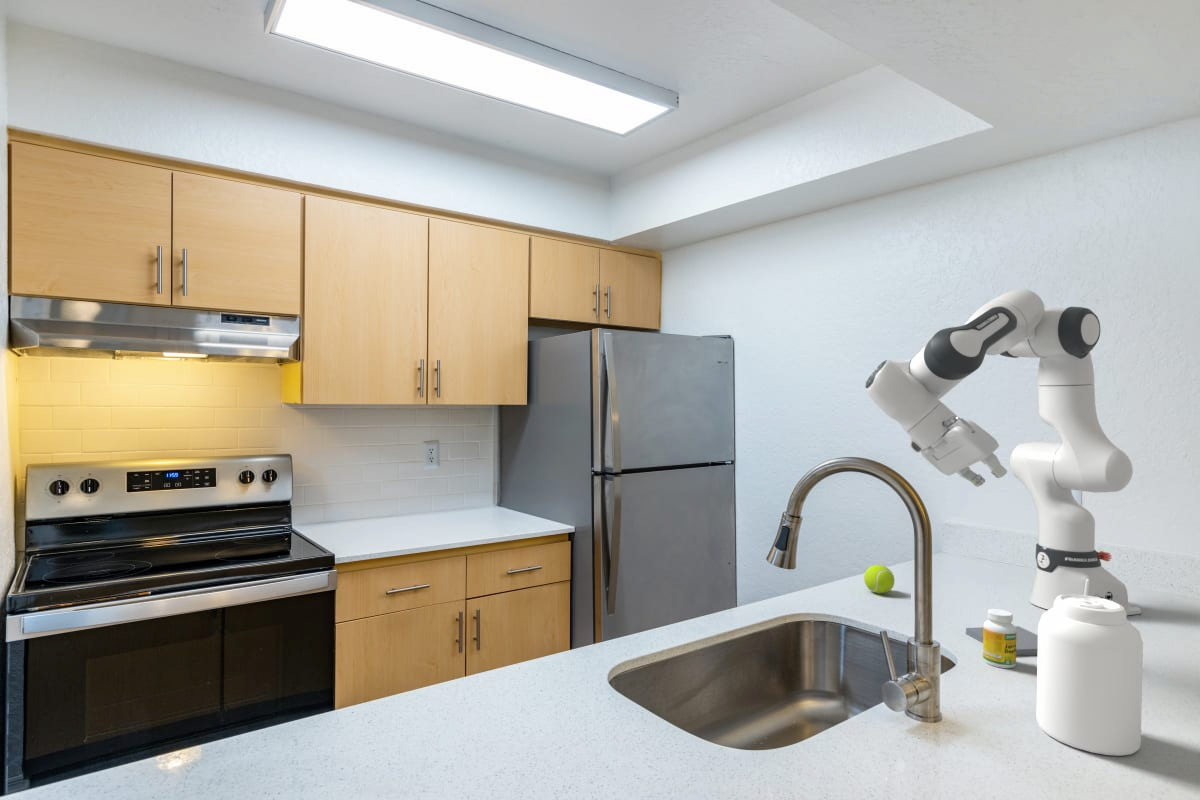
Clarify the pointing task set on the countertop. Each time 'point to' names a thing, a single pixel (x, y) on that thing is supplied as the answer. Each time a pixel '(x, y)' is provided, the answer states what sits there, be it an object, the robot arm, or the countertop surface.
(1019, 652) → the coaster
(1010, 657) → the supplement bottle
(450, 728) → the countertop surface
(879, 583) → the tennis ball
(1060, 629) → the white plastic jar
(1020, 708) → the countertop surface
